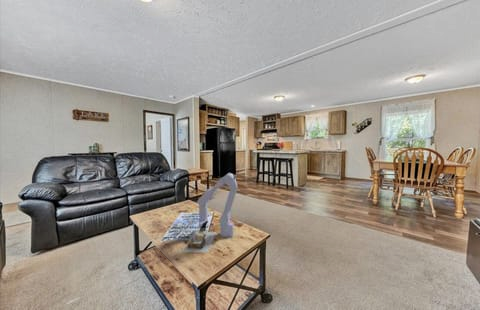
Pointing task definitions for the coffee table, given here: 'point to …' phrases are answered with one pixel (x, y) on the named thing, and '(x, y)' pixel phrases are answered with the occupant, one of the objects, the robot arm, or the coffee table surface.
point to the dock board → (207, 245)
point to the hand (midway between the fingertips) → (203, 231)
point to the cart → (201, 234)
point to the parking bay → (196, 244)
